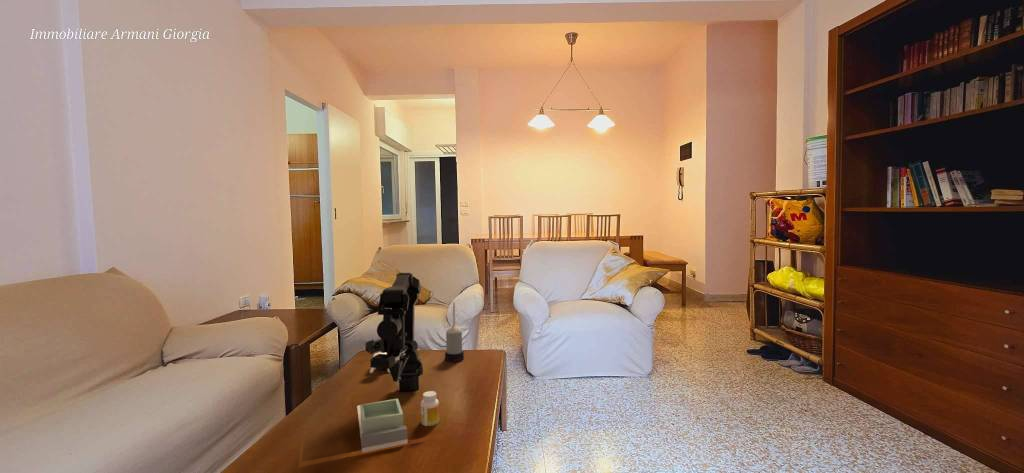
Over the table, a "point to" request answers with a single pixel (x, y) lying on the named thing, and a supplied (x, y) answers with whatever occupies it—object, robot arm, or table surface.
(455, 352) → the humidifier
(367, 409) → the sage green storage bin
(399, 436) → the board
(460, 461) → the table surface
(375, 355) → the white animal figurine
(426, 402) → the supplement bottle
